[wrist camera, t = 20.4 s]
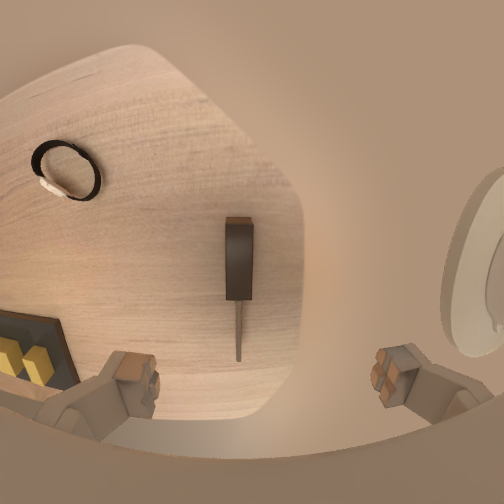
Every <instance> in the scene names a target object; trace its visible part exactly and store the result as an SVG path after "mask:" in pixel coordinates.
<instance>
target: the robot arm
mask: <svg viewBox="0 0 504 504" xmlns="http://www.w3.org/2000/svg"><path fill="white" fill-rule="evenodd" d="M486 305H487V310H488V312H489V314H490V315H491V317H492V319H493V330H494V331H495V332H497V333H500V332H502V331H504V235H503V236H502V238H501V240H500V242H499V244H498V247H497V249H496V252H495V254H494V257H493V260H492V263H491V267H490V271H489V275H488V280H487V287H486ZM376 360H377V363H376V364H375V365H374V366H373V368H372V371H371V382H372V386H373V388H374V389H375V390H376V391H378V392H380V395H379V398H380V400H381V402H382V403H383V405H384V407H385V408H390V407H395V406H399V405H403V404H404V406H406V407H407V408H409V409H410V410H412V411H413V412H415V413H416V414H418V415H419V416H421V417H422V418H424V419H425V420H427V421H428V422H430V423H431V424H433V425H431V426H428V427H426V428H423V429H420V430H417V431H414V432H411V433H407V434H404V435H401V436H397V437H394V438H390V439H387V440H383V441H379V442H375V443H371V444H366V445H362V446H357V447H353V448H347V449H342V450H336V451H331V452H324V453H317V454H309V455H301V456H291V457H278V458H259V459H217V458H197V457H185V456H175V455H167V454H159V453H152V452H146V451H140V450H134V449H129V448H124V447H118V446H114V445H110V444H106V443H102V442H100V441H101V440H103V439H104V438H105V437H106V436H107V435H109V434H110V433H111V432H112V431H114V430H115V429H116V428H117V427H118V426H119V425H121V424H122V423H123V422H124V421H126V420H127V419H128V418H129V417H137V418H145V419H152V416H153V412H154V409H155V403H154V400H156V399H157V398H158V396H159V392H160V377H159V373H158V372H157V371H156V370H155V367H156V365H157V363H156V359H155V356H154V355H151V354H142V353H133V352H125V351H117V350H116V351H113V353H112V354H111V356H110V357H109V359H108V361H107V362H106V364H105V366H104V367H103V369H102V371H101V372H100V374H99V375H98V376H93V377H91V378H89V379H87V380H85V381H83V382H81V383H79V384H77V385H75V386H73V387H71V388H69V389H67V390H65V391H63V392H61V393H59V394H57V395H55V396H52V397H50V398H48V399H46V400H45V402H44V403H43V405H42V406H41V408H40V409H39V411H38V412H37V414H36V415H35V417H34V418H33V420H31V419H29V418H26V417H24V416H22V415H19V414H17V413H15V412H13V411H11V410H9V409H6V408H4V407H2V406H0V504H504V393H502V394H500V395H498V396H496V397H495V396H494V395H493V394H492V393H491V392H490V391H489V390H488V389H487V388H486V387H485V385H484V384H483V383H482V382H480V381H478V380H475V379H473V378H470V377H468V376H465V375H463V374H460V373H457V372H455V371H452V370H450V369H447V368H445V367H442V366H440V365H437V364H432V363H431V362H430V361H429V360H428V359H427V357H426V356H425V355H424V354H423V353H422V352H421V351H420V350H419V348H418V347H417V346H416V345H415V344H413V343H409V344H404V345H401V346H396V347H389V348H383V349H379V350H378V352H377V354H376Z"/></svg>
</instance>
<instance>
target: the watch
mask: <svg viewBox="0 0 504 504" xmlns="http://www.w3.org/2000/svg"><path fill="white" fill-rule="evenodd" d="M72 145H73V146H74V147H73V146H72ZM72 145H70V144H68V143H66V142H64V141H60V140H50V141H47V142H44V143H43V144H41V145H40V146H39V147H37V148H36V150H35V151H34V153H33V155H32V159H31V165H32V169H33V171H34V172H35V174H36V175H37V176H38V177H39V178H40V184H41V185H42V186H43V187H45V188H46V189H48V190H49V191H51V192H52V193H54V194H56V195H57V196H59V197H61V198H64V199H69V198H70V199H73V200H77V201H89V200H91V199H93V198H94V197H95V196H96V195H97V194H98V192H99V190H100V186H101V175H100V172H99V169H98V167H97V166H96V164H95V163H94V162H93V161H92V159H91V158H90V157H89V156H88V154H87V153H86V152H84V151H83V150H82V149H80V148H78V147H77V146H76V145H75V144H72ZM56 146H67V147H70V148H72V149H74V150H75V151H77V152H78V154H79V155H81V156H82V157H83V158H85V159H86V160H88V161H89V162H90V164H91V166H92V167H93V170H94V174H95V183H94V188H93V190H92V192H91V193H90V194H89V195H88V196H87V197H85V198H82V199H78V198H75V197H73V196H71V194H70V193H69V192H68V191H66V190H65V189H64V188H62V187H61V186H59V185H57V184H56V183H54V182H53V181H51V180H49V179H47V178H46V177H45V176H44V174H43V173H42V171H41V167H40V166H41V159H42V157H43V155H44V154H45V153H46V152H47V151H48V150H49V149H51V148H53V147H56ZM76 148H77V149H78V150H77V149H76Z"/></svg>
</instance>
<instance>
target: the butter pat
mask: <svg viewBox="0 0 504 504" xmlns="http://www.w3.org/2000/svg"><path fill="white" fill-rule="evenodd" d="M22 360H23V363H24V365H25V368H26V370H27V372H28V374H29V377H30V379H31V381H32V383H35V384H38V385H41V386H45V385H46V383H47V382H48V380H49V379H50V377H51V376H52V375H53V373H54V372H55V371H54V368H53V366H52V363H51V361H50V358H49V355H48V352H47V350H46V348H44V347H40V346H35V345H34V346H33V347H32V348H31V349H30V350H29V351H28V352H27V354H26V355H25V356H24V357H23V358H22Z"/></svg>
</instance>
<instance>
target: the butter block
mask: <svg viewBox="0 0 504 504" xmlns="http://www.w3.org/2000/svg"><path fill="white" fill-rule="evenodd" d="M23 357H24V356H23V353H22V351H21V348H20V346H19V343H18V341H15V340H11V339H7V338H4V337H0V372H3V373H6V374H9V375H12V376H14V377H17V375H18V374H19V373H20V372H21V370H22V369H23V368H24V367H25V365H24V363H23V360H22V358H23Z"/></svg>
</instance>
